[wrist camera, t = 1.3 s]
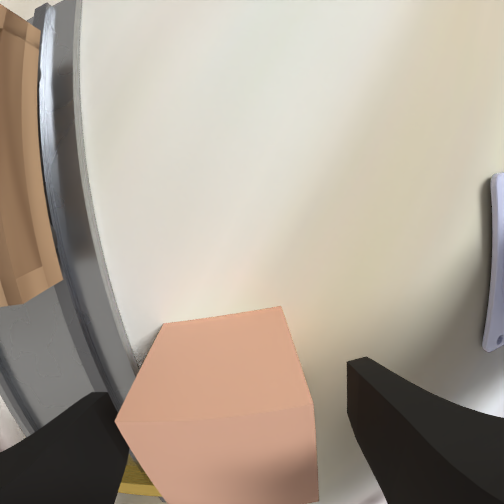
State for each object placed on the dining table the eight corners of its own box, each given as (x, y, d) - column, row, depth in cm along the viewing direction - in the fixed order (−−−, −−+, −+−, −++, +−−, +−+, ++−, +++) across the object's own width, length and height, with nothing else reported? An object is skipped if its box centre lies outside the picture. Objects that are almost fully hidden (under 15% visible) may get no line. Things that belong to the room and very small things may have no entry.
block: (281, 305, 10) (313, 403, 5) (293, 397, 11) (319, 500, 6) (163, 323, 10) (114, 421, 5) (192, 410, 11) (174, 513, 6)
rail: (82, -1, 7) (64, -20, 6) (197, 490, 12) (194, 514, 10) (-53, 88, 7) (-74, 83, 6) (62, 475, 12) (53, 493, 10)
